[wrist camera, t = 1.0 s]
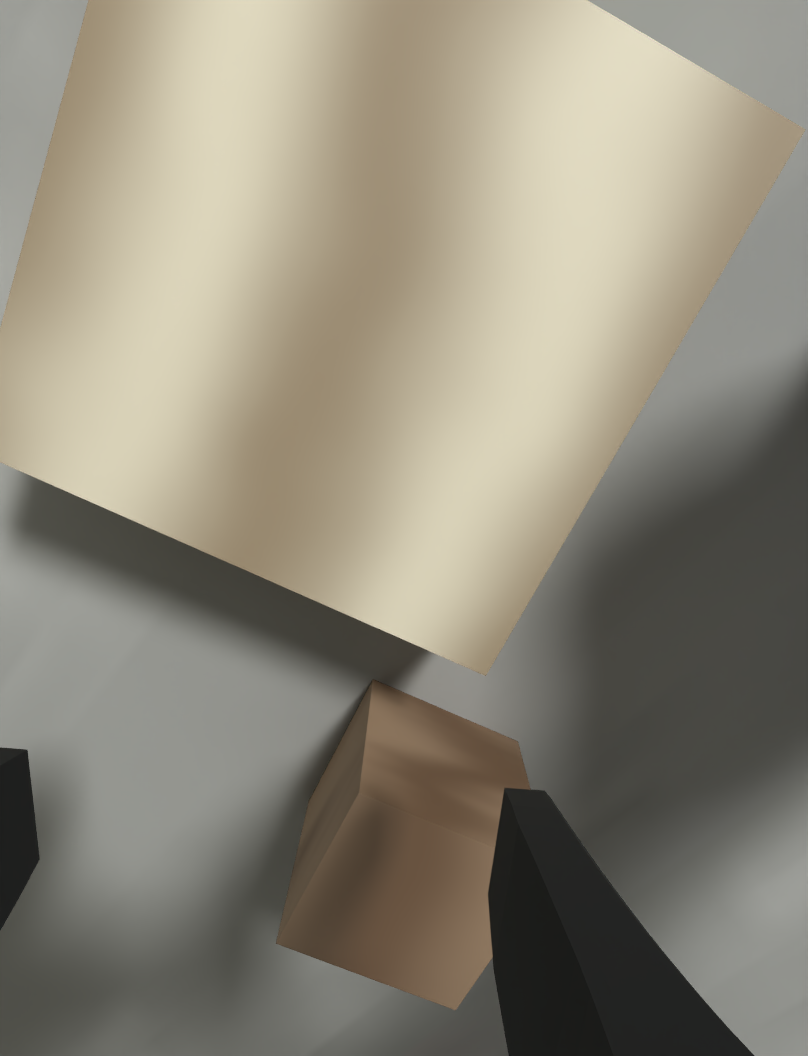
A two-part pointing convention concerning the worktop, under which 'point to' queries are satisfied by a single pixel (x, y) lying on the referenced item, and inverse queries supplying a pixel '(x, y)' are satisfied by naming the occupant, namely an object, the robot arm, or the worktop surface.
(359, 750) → the walnut cube
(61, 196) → the birch pedestal
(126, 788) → the worktop surface
